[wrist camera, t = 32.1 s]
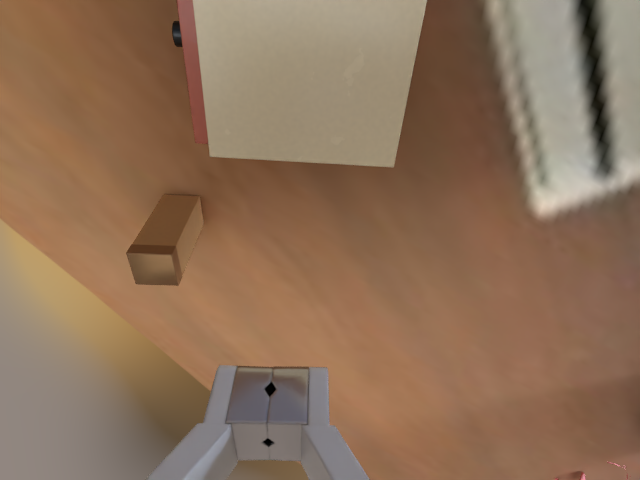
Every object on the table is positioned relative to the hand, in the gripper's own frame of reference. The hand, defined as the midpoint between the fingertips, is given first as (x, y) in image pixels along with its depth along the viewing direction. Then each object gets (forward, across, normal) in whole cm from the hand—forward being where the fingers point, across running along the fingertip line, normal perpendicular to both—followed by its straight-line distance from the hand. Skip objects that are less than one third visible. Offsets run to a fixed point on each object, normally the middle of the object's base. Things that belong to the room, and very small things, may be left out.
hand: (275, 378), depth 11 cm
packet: (+28, +12, +11) cm, 32 cm away
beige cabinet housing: (+27, 0, -5) cm, 28 cm away
